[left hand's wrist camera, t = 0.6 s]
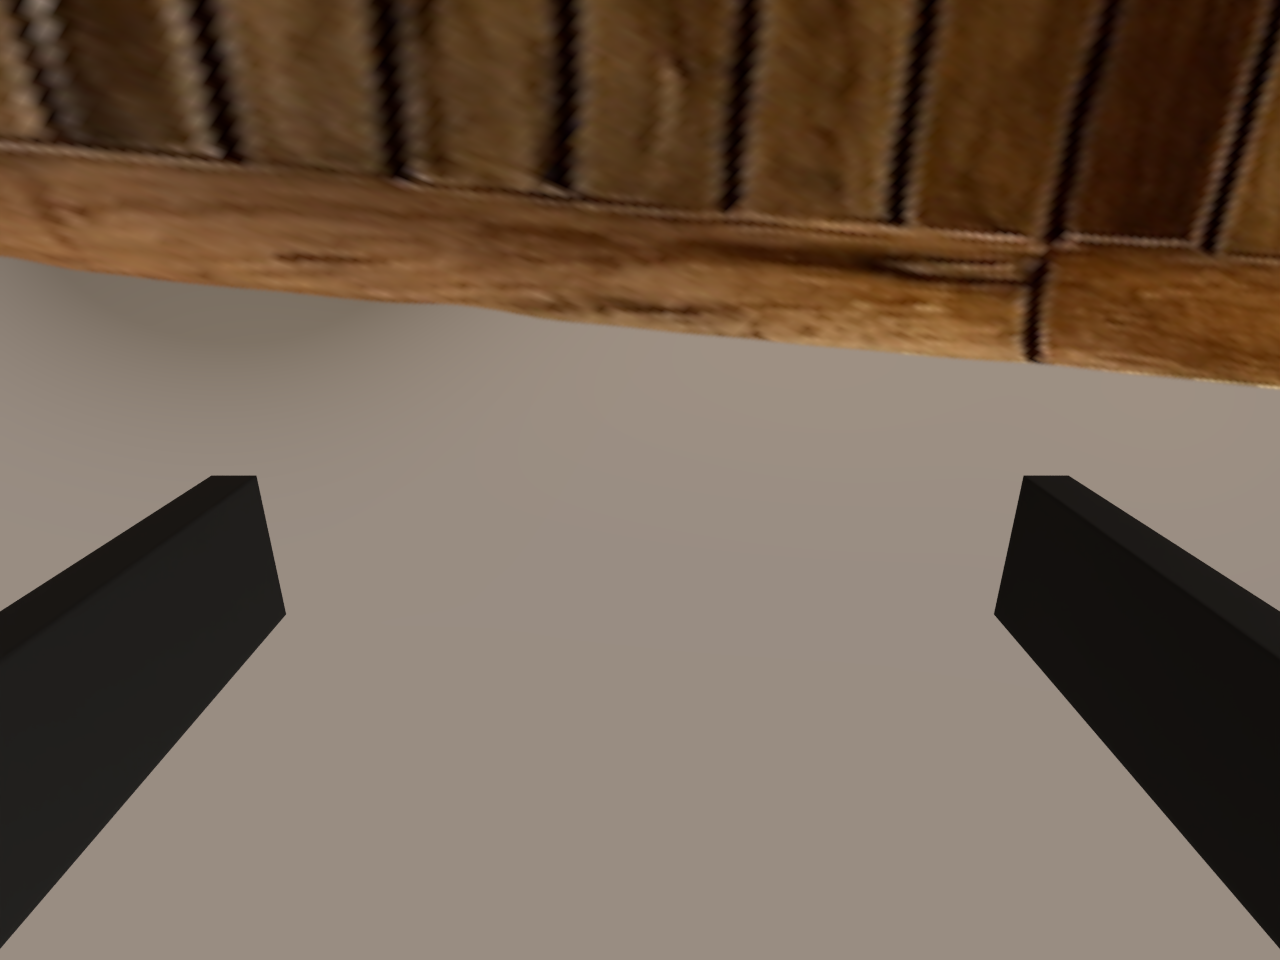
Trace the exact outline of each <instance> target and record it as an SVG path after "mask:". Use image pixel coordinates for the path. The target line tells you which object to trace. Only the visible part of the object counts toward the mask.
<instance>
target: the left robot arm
mask: <svg viewBox="0 0 1280 960" xmlns="http://www.w3.org/2000/svg"><path fill="white" fill-rule="evenodd" d="M285 615H286V612H285V607H284V603H283V598H282V593H281V589H280V584H279V579H278V575H277V570H276V565H275V561H274V556H273V551H272V547H271V542H270V537H269V533H268V528H267V524H266V519H265V514H264V509H263V505H262V500H261V495H260V491H259V486H258V481H257V477H256V476H210V477H209V478H207V479H206V480H204V481H202V482H201V483H199V484H198V485H196V486H195V487H193V488H192V489H190V490H188V491H187V492H185V493H184V494H182V495H181V496H179V497H178V498H176V499H174V500H173V501H171V502H170V503H168V504H167V505H165V506H164V507H162V508H161V509H159V510H157V511H156V512H154V513H153V514H151V515H150V516H148V517H146V518H145V519H143V520H142V521H140V522H139V523H137V524H136V525H134V526H132V527H131V528H129V529H128V530H126V531H125V532H123V533H122V534H120V535H118V536H117V537H115V538H114V539H112V540H111V541H109V542H108V543H106V544H105V545H103V546H101V547H100V548H98V549H97V550H95V551H94V552H92V553H90V554H89V555H87V556H86V557H84V558H83V559H81V560H80V561H78V562H76V563H75V564H73V565H72V566H70V567H69V568H67V569H66V570H64V571H62V572H61V573H59V574H58V575H56V576H55V577H53V578H52V579H50V580H48V581H47V582H45V583H44V584H42V585H41V586H39V587H38V588H36V589H35V590H33V591H31V592H30V593H28V594H27V595H25V596H24V597H22V598H20V599H19V600H17V601H16V602H14V603H13V604H11V605H10V606H8V607H6V608H5V609H3V610H2V611H0V948H1V947H2V946H3V945H4V944H5V942H6V941H7V940H8V939H9V938H10V937H11V935H12V934H13V933H14V932H15V931H16V930H17V928H18V927H19V926H20V925H21V924H22V923H23V921H24V920H25V919H26V918H27V917H28V916H29V914H30V913H31V912H32V911H33V910H34V908H35V907H36V906H37V905H38V904H39V903H40V901H41V900H42V899H43V898H44V897H45V896H46V894H47V893H48V892H49V891H50V890H51V889H52V887H53V886H54V885H55V884H56V883H57V882H58V880H59V879H60V878H61V877H62V876H63V875H64V873H65V872H66V871H67V870H68V869H69V867H70V866H71V865H72V864H73V863H74V862H75V861H76V859H77V858H78V857H79V856H80V855H81V854H82V852H83V851H84V850H85V849H86V848H87V846H88V845H89V844H90V843H91V842H92V841H93V839H94V838H95V837H96V836H97V835H98V834H99V832H100V831H101V830H102V829H103V828H104V827H105V825H106V824H107V823H108V822H109V821H110V819H111V818H112V817H113V816H114V815H115V814H116V812H117V811H118V810H119V809H120V808H121V807H122V806H123V804H124V803H125V802H126V801H127V800H128V798H129V797H130V796H131V795H132V794H133V793H134V792H135V790H136V789H137V788H138V787H139V786H140V784H141V783H142V782H143V781H144V780H145V779H146V777H147V776H148V775H149V774H150V773H151V772H152V770H153V769H154V768H155V767H156V766H157V765H158V763H159V762H160V761H161V760H162V759H163V758H164V756H165V755H166V754H167V753H168V752H169V751H170V749H171V748H172V747H173V746H174V745H175V744H176V742H177V741H178V740H179V739H180V738H181V737H182V735H183V734H184V733H185V732H186V731H187V729H188V728H189V727H190V726H191V725H192V724H193V722H194V721H195V720H196V719H197V718H198V717H199V715H200V714H201V713H202V712H203V711H204V710H205V708H206V707H207V706H208V705H209V704H210V703H211V701H212V700H213V699H214V698H215V697H216V696H217V694H218V693H219V692H220V691H221V690H222V689H223V687H224V686H225V685H226V684H227V683H228V681H229V680H230V679H231V678H232V677H233V676H234V675H235V673H236V672H237V671H238V670H239V669H240V667H241V666H242V665H243V664H244V663H245V662H246V660H247V659H248V658H249V657H250V656H251V655H252V653H253V652H254V651H255V650H256V649H257V648H258V646H259V645H260V644H261V643H262V642H263V641H264V639H265V638H266V637H267V636H268V635H269V634H270V632H271V631H272V630H273V629H274V628H275V627H276V625H277V624H278V623H279V622H280V621H281V619H282V618H283V617H284V616H285ZM994 615H995V616H996V617H997V618H998V620H999V621H1000V622H1001V623H1002V624H1003V625H1004V627H1005V628H1006V629H1007V630H1008V631H1009V632H1010V634H1011V635H1012V636H1013V637H1014V638H1015V639H1016V641H1017V642H1018V643H1019V644H1020V645H1021V646H1022V648H1023V649H1024V650H1025V651H1026V652H1027V653H1028V655H1029V656H1030V657H1031V658H1032V659H1033V661H1034V662H1035V663H1036V664H1037V665H1038V666H1039V667H1040V669H1041V670H1042V671H1043V672H1044V673H1045V675H1046V676H1047V677H1048V678H1049V679H1050V680H1051V682H1052V683H1053V684H1054V685H1055V686H1056V687H1057V689H1058V690H1059V691H1060V692H1061V693H1062V694H1063V696H1064V697H1065V698H1066V699H1067V700H1068V701H1069V703H1070V704H1071V705H1072V706H1073V707H1074V708H1075V710H1076V711H1077V712H1078V713H1079V714H1080V715H1081V717H1082V718H1083V719H1084V720H1085V721H1086V722H1087V724H1088V725H1089V726H1090V727H1091V728H1092V730H1093V731H1094V732H1095V733H1096V734H1097V735H1098V737H1099V738H1100V739H1101V740H1102V741H1103V742H1104V744H1105V745H1106V746H1107V747H1108V748H1109V749H1110V751H1111V752H1112V753H1113V754H1114V755H1115V756H1116V758H1117V759H1118V760H1119V761H1120V762H1121V763H1122V765H1123V766H1124V767H1125V768H1126V769H1127V770H1128V772H1129V773H1130V774H1131V775H1132V776H1133V777H1134V779H1135V780H1136V781H1137V782H1138V783H1139V784H1140V786H1141V787H1142V788H1143V789H1144V790H1145V791H1146V793H1147V794H1148V795H1149V796H1150V797H1151V799H1152V800H1153V801H1154V802H1155V803H1156V804H1157V806H1158V807H1159V808H1160V809H1161V810H1162V811H1163V813H1164V814H1165V815H1166V816H1167V817H1168V818H1169V820H1170V821H1171V822H1172V823H1173V824H1174V825H1175V827H1176V828H1177V829H1178V830H1179V831H1180V832H1181V834H1182V835H1183V836H1184V837H1185V838H1186V839H1187V841H1188V842H1189V843H1190V844H1191V845H1192V846H1193V848H1194V849H1195V850H1196V851H1197V852H1198V854H1199V855H1200V856H1201V857H1202V858H1203V859H1204V860H1205V862H1206V863H1207V864H1208V865H1209V866H1210V868H1211V869H1212V870H1213V871H1214V872H1215V873H1216V875H1217V876H1218V877H1219V878H1220V879H1221V880H1222V882H1223V883H1224V884H1225V885H1226V886H1227V887H1228V889H1229V890H1230V891H1231V892H1232V893H1233V894H1234V896H1235V897H1236V898H1237V899H1238V900H1239V901H1240V903H1241V904H1242V905H1243V906H1244V907H1245V908H1246V910H1247V911H1248V912H1249V913H1250V914H1251V916H1252V917H1253V918H1254V919H1255V920H1256V921H1257V923H1258V924H1259V925H1260V926H1261V927H1262V928H1263V930H1264V931H1265V932H1266V933H1267V934H1268V935H1269V936H1270V938H1271V939H1272V940H1273V941H1274V942H1275V944H1276V945H1277V946H1278V947H1279V948H1280V611H1278V610H1277V609H1275V608H1274V607H1272V606H1270V605H1269V604H1267V603H1266V602H1264V601H1263V600H1261V599H1260V598H1258V597H1256V596H1255V595H1253V594H1252V593H1250V592H1249V591H1247V590H1246V589H1244V588H1242V587H1241V586H1239V585H1238V584H1236V583H1235V582H1233V581H1232V580H1230V579H1228V578H1227V577H1225V576H1224V575H1222V574H1221V573H1219V572H1218V571H1216V570H1214V569H1213V568H1211V567H1210V566H1208V565H1207V564H1205V563H1204V562H1202V561H1200V560H1199V559H1197V558H1196V557H1194V556H1193V555H1191V554H1190V553H1188V552H1186V551H1185V550H1183V549H1182V548H1180V547H1179V546H1177V545H1176V544H1174V543H1172V542H1171V541H1169V540H1168V539H1166V538H1165V537H1163V536H1162V535H1160V534H1158V533H1157V532H1155V531H1154V530H1152V529H1151V528H1149V527H1148V526H1146V525H1144V524H1143V523H1141V522H1140V521H1138V520H1137V519H1135V518H1133V517H1132V516H1130V515H1129V514H1127V513H1126V512H1124V511H1123V510H1121V509H1120V508H1118V507H1116V506H1115V505H1113V504H1112V503H1110V502H1109V501H1107V500H1106V499H1104V498H1102V497H1101V496H1099V495H1098V494H1096V493H1095V492H1093V491H1092V490H1090V489H1088V488H1087V487H1085V486H1084V485H1082V484H1081V483H1079V482H1078V481H1076V480H1074V479H1073V478H1071V477H1070V476H1024V477H1023V481H1022V486H1021V491H1020V495H1019V500H1018V505H1017V509H1016V514H1015V519H1014V523H1013V528H1012V533H1011V538H1010V542H1009V547H1008V551H1007V556H1006V561H1005V565H1004V570H1003V575H1002V579H1001V584H1000V589H999V593H998V598H997V603H996V607H995V612H994Z"/></svg>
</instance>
